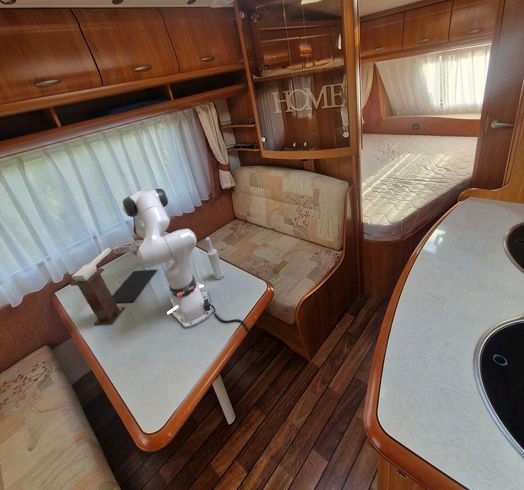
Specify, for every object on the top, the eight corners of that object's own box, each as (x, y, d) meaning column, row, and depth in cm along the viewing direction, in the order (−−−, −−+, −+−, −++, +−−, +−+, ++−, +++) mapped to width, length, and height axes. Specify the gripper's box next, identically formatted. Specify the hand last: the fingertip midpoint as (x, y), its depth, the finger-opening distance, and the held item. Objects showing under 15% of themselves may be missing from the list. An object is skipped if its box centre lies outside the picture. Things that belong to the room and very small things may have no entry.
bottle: (222, 279, 146) (210, 241, 136) (213, 279, 148) (201, 241, 137) (225, 273, 151) (214, 235, 141) (217, 273, 152) (205, 236, 142)
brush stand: (112, 324, 131) (88, 282, 121) (94, 324, 133) (69, 283, 123) (124, 308, 140) (103, 268, 130) (107, 308, 142) (85, 269, 132)
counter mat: (133, 302, 143) (132, 301, 143) (107, 303, 147) (106, 302, 146) (156, 270, 167) (156, 269, 166) (134, 272, 170) (133, 271, 169)
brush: (86, 281, 122) (82, 275, 121) (75, 282, 123) (71, 276, 122) (116, 252, 142) (113, 247, 140) (106, 253, 143) (103, 248, 142)
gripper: (123, 244, 166) (105, 245, 153) (152, 241, 162) (137, 242, 149) (123, 254, 165) (106, 256, 152) (153, 251, 161) (138, 253, 148)
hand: (121, 249), depth 150 cm, fingers open, 8 cm apart
